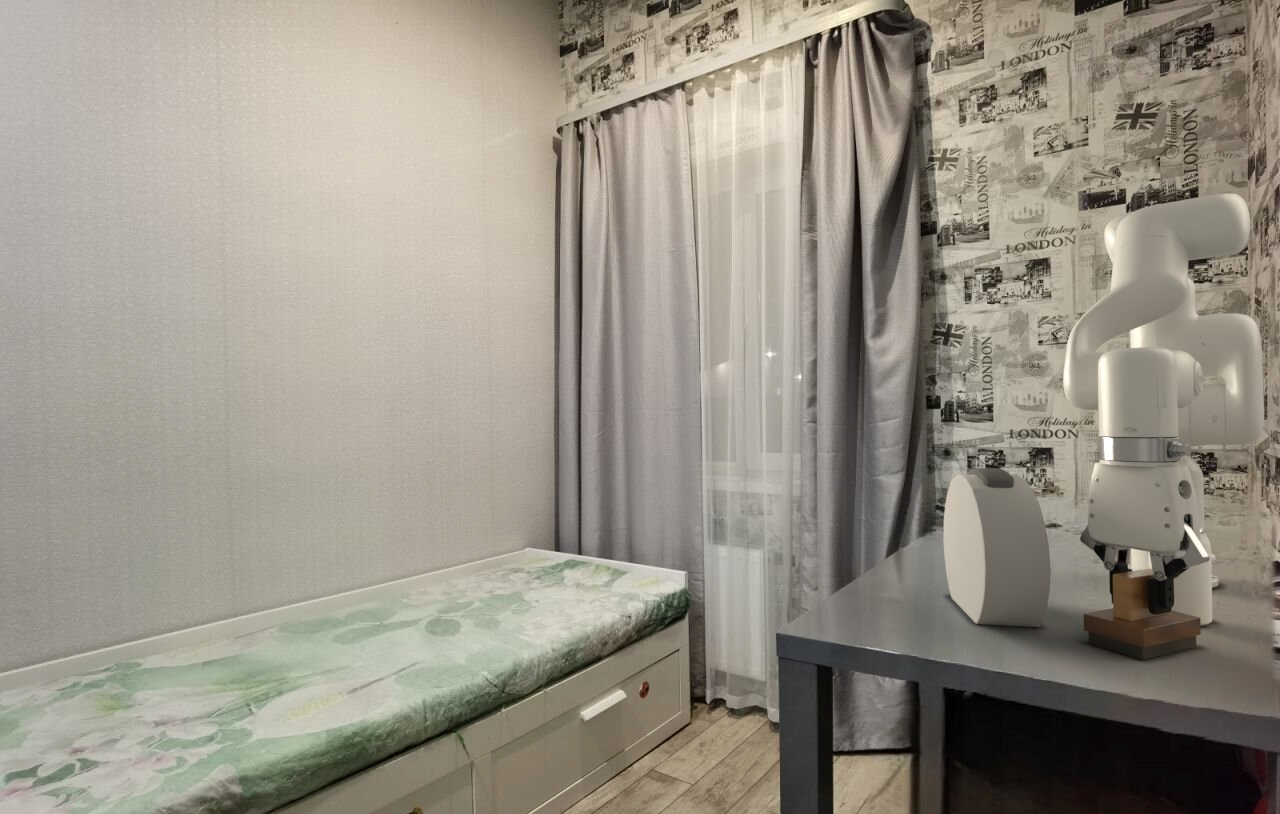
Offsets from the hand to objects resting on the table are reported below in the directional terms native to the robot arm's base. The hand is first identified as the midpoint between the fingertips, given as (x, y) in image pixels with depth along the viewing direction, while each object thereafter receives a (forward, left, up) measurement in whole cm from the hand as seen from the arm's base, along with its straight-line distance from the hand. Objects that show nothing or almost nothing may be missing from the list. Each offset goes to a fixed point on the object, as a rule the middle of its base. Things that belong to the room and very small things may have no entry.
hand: (1141, 606), depth 78 cm
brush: (0, 0, -5) cm, 5 cm away
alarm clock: (+4, -17, -5) cm, 18 cm away
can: (-15, -4, -5) cm, 16 cm away
